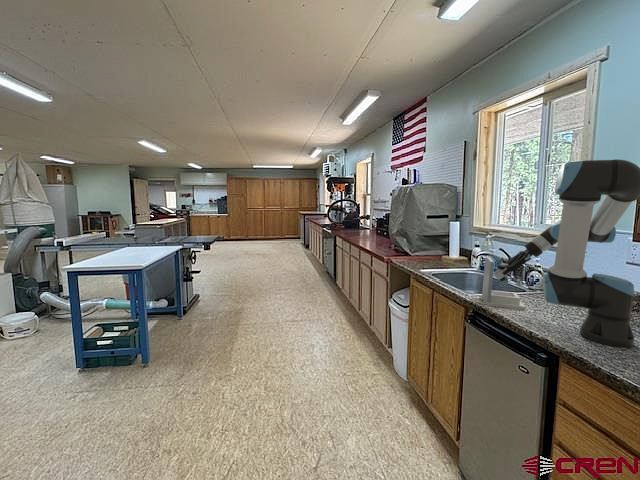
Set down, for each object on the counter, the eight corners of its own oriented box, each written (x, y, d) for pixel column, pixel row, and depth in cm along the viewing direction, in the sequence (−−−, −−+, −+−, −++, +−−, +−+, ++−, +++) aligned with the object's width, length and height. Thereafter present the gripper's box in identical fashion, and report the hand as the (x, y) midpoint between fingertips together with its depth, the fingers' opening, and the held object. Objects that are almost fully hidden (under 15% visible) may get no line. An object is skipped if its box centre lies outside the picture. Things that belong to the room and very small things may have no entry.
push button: (511, 283, 165) (513, 264, 163) (511, 286, 160) (513, 265, 159) (496, 281, 168) (497, 262, 166) (496, 284, 163) (498, 264, 162)
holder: (524, 309, 153) (529, 264, 151) (486, 305, 158) (490, 261, 156) (516, 299, 170) (520, 258, 168) (482, 296, 175) (485, 256, 173)
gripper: (549, 255, 148) (505, 286, 155) (537, 249, 165) (498, 278, 173) (536, 242, 149) (493, 274, 157) (526, 238, 166) (487, 267, 174)
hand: (496, 276), depth 165 cm, fingers closed on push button, 5 cm apart
